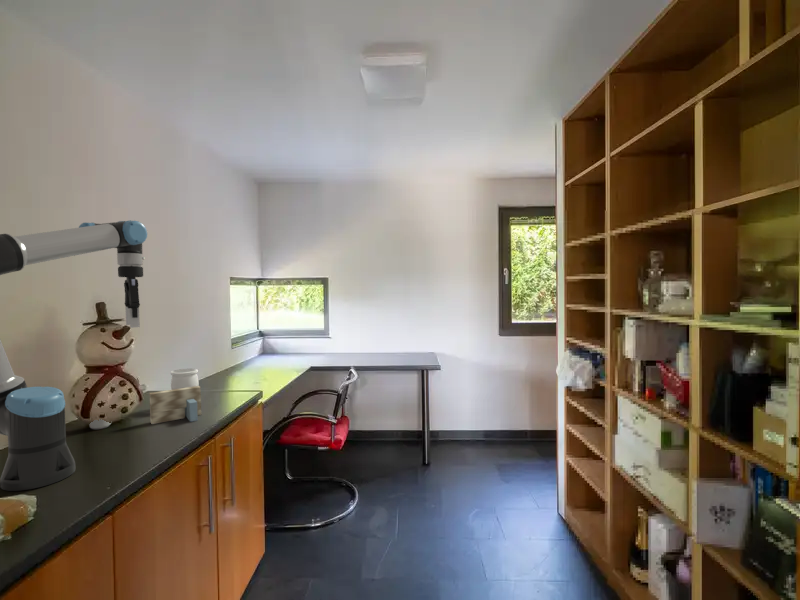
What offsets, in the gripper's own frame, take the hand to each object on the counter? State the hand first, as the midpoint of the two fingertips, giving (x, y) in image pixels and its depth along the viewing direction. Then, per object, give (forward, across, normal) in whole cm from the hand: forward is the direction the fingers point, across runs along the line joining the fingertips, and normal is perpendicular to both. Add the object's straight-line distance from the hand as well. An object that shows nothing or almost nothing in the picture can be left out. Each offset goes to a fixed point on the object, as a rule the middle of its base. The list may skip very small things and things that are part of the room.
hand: (132, 326), depth 150 cm
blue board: (+37, +3, -18) cm, 41 cm away
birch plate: (+37, +3, -14) cm, 39 cm away
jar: (+37, +20, -20) cm, 46 cm away
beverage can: (+37, +10, +10) cm, 40 cm away
